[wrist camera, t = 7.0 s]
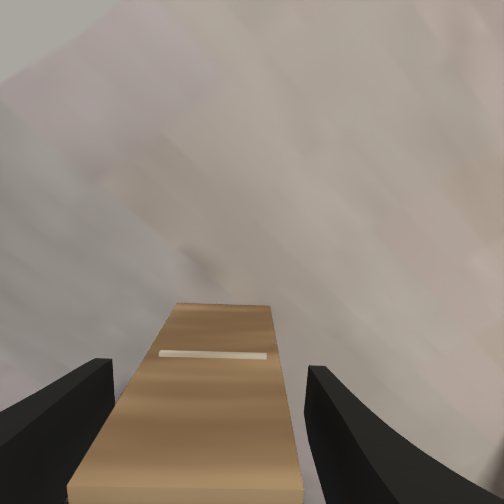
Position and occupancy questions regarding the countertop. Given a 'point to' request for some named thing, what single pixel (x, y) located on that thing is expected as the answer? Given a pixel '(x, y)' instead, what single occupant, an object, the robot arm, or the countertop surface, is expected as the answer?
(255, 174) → the countertop surface
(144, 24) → the countertop surface
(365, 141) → the countertop surface
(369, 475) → the robot arm
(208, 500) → the walnut domino
